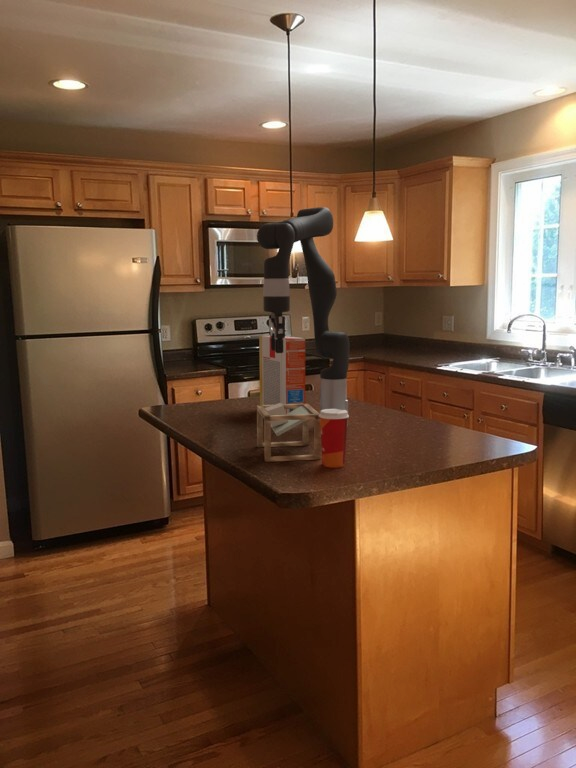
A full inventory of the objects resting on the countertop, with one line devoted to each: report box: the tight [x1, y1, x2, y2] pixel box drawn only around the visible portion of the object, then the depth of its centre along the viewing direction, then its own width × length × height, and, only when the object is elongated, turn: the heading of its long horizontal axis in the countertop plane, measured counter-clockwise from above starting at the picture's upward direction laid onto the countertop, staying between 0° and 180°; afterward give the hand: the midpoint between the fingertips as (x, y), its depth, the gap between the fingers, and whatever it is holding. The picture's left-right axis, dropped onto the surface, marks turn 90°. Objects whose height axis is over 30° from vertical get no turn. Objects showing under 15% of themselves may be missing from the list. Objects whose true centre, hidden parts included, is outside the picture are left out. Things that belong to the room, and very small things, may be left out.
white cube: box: [265, 403, 289, 427], centre depth 189 cm, size 5×5×5 cm
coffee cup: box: [319, 409, 350, 469], centre depth 176 cm, size 8×8×15 cm
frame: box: [256, 403, 322, 463], centre depth 190 cm, size 16×19×13 cm
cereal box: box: [258, 334, 306, 414], centre depth 250 cm, size 23×8×30 cm, turn 27°
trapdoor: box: [271, 406, 310, 437], centre depth 190 cm, size 12×15×1 cm
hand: (276, 351), depth 187 cm, fingers open, 8 cm apart
